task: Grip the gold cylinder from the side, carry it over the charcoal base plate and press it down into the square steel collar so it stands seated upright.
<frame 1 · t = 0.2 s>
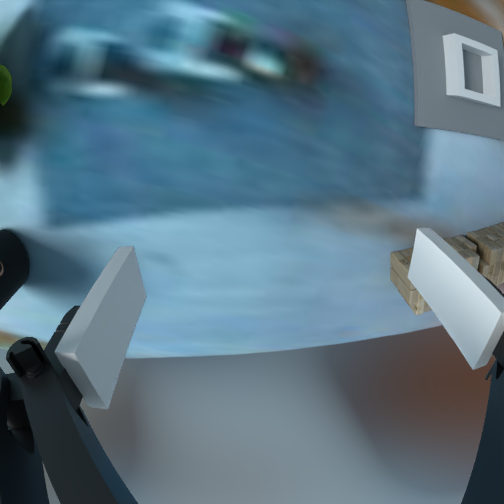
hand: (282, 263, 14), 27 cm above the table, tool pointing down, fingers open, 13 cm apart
socket plate: (463, 71, 33), on the table
coffee jar: (10, 255, 41), on the table
block tower: (457, 252, 46), on the table
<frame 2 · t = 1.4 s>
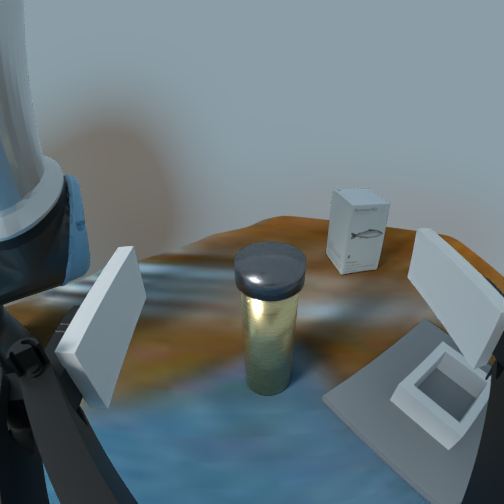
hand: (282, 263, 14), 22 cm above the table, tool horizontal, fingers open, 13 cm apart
socket plate: (438, 404, 28), on the table
gold cylinder: (267, 378, 34), on the table
supplement box: (351, 262, 54), on the table
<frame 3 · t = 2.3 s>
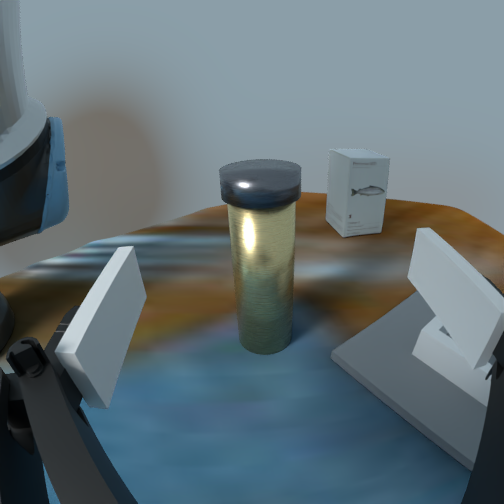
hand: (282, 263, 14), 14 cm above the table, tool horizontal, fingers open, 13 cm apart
socket plate: (467, 360, 23), on the table
gold cylinder: (265, 335, 29), on the table
supplement box: (353, 227, 50), on the table
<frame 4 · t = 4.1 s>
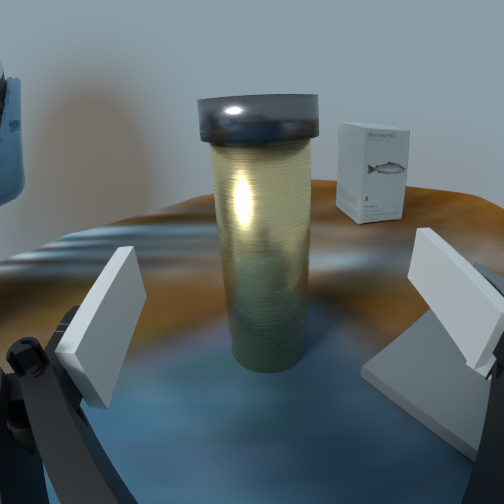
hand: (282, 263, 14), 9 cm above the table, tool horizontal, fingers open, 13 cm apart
gold cylinder: (268, 346, 21), on the table
supplement box: (368, 214, 42), on the table
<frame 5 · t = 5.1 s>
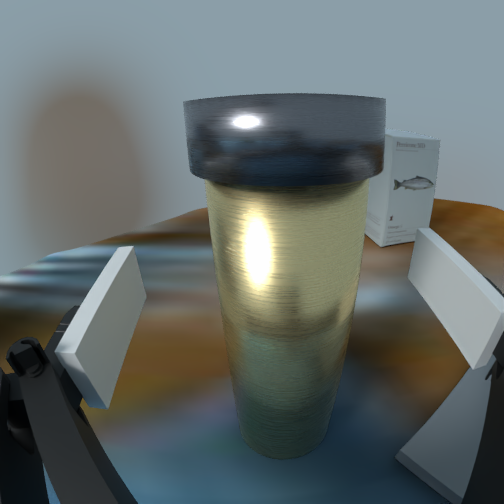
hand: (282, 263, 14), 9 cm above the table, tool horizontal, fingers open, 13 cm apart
gold cylinder: (283, 421, 16), on the table
supplement box: (389, 233, 37), on the table
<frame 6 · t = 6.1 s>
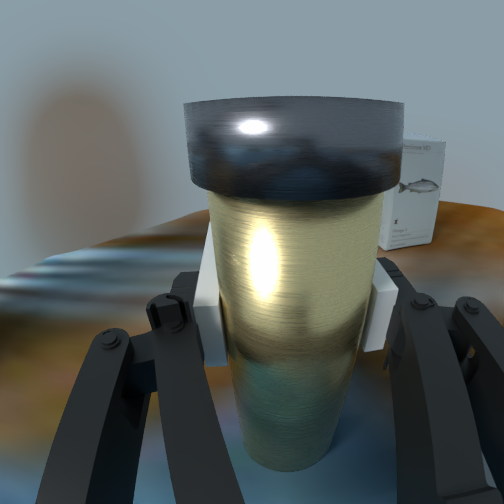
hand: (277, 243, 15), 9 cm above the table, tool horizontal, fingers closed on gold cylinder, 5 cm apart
gold cylinder: (287, 433, 15), on the table, touching gripper
supplement box: (393, 236, 36), on the table
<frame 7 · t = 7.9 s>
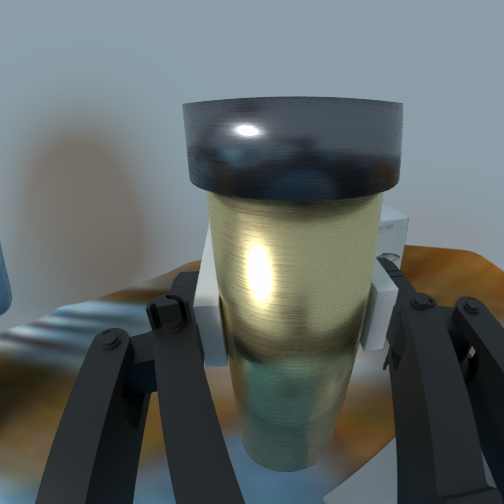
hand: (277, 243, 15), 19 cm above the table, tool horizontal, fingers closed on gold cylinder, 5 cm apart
socket plate: (476, 485, 15), on the table
gold cylinder: (287, 433, 15), point 10 cm above the table, touching gripper
supplement box: (359, 294, 42), on the table
when the fingers open (11 cm above the table, at t = 11.2 s): gold cylinder drops 1 cm, resting on socket plate.
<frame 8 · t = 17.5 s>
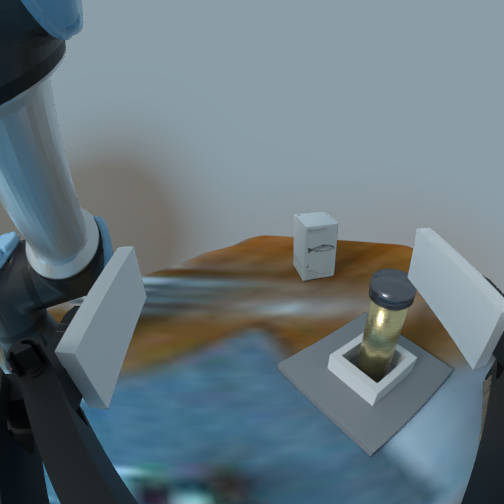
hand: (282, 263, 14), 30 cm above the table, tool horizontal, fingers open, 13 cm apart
socket plate: (369, 374, 42), on the table
gold cylinder: (370, 370, 42), point 1 cm above the table, touching socket plate
supplement box: (313, 271, 69), on the table
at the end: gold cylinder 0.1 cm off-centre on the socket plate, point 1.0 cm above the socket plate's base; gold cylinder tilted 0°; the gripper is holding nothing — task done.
